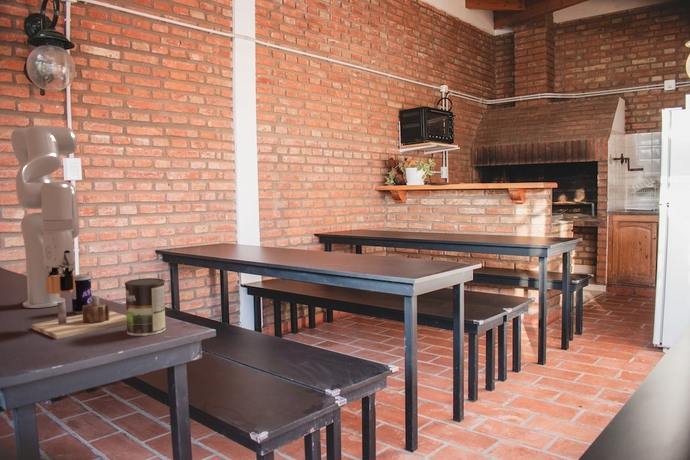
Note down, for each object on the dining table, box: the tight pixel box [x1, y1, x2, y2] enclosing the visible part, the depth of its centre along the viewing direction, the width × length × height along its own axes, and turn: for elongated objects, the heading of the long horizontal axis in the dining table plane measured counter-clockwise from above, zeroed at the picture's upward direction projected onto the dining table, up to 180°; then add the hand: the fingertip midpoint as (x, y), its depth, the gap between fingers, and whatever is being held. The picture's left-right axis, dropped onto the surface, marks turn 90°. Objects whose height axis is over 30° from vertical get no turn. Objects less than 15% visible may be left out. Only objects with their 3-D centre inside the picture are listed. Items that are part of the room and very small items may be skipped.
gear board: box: [30, 295, 127, 340], centre depth 149 cm, size 17×22×8 cm
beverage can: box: [71, 273, 93, 315], centre depth 165 cm, size 6×6×12 cm
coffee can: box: [124, 277, 167, 337], centre depth 142 cm, size 10×10×14 cm
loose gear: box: [46, 274, 75, 295], centre depth 145 cm, size 7×7×4 cm
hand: (61, 288), depth 145 cm, fingers closed on loose gear, 7 cm apart
